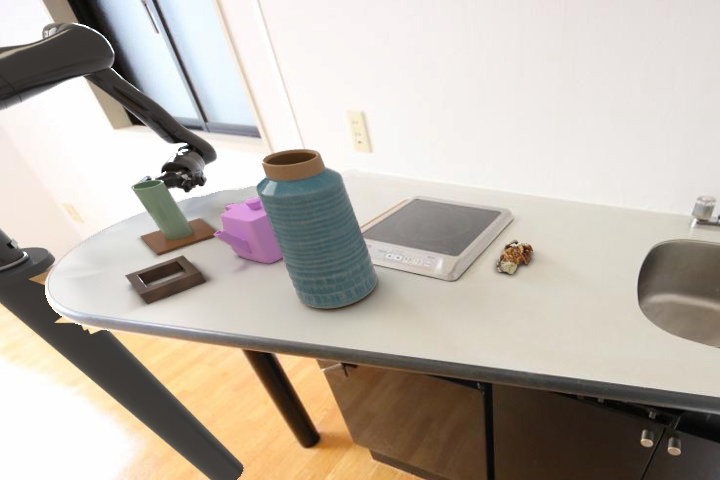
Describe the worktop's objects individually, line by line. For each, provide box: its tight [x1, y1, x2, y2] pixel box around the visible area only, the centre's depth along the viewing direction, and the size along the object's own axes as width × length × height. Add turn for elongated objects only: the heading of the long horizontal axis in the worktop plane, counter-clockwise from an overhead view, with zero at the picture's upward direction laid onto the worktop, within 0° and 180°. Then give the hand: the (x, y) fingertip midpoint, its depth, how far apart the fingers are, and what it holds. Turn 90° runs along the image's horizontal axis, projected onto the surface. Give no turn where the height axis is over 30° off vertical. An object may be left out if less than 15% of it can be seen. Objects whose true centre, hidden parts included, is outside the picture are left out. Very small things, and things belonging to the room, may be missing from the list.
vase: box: [255, 148, 378, 309], centre depth 69 cm, size 16×16×27 cm
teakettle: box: [213, 196, 283, 265], centre depth 87 cm, size 17×17×12 cm
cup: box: [130, 180, 193, 240], centre depth 91 cm, size 6×6×13 cm
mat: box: [139, 217, 218, 256], centre depth 96 cm, size 14×14×1 cm
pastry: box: [496, 239, 534, 275], centre depth 85 cm, size 7×12×4 cm, turn 162°
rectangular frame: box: [124, 255, 207, 305], centre depth 79 cm, size 11×11×2 cm
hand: (165, 191), depth 94 cm, fingers open, 8 cm apart
